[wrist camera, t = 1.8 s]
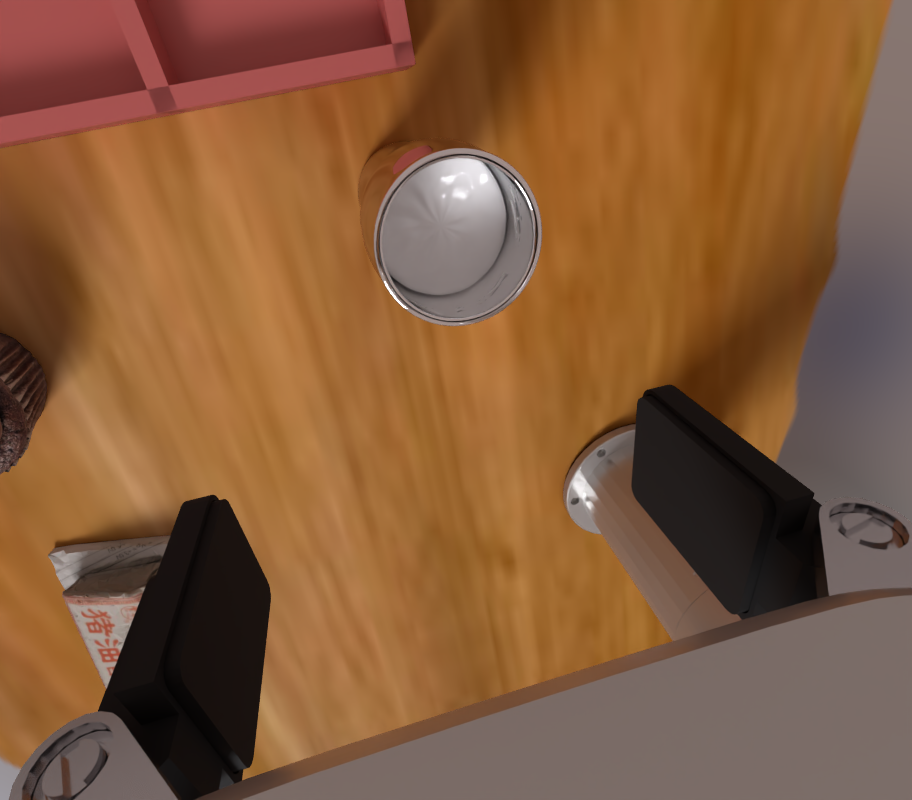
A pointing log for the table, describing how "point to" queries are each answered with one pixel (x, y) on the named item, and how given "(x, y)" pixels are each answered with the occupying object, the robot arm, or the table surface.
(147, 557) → the packaged product
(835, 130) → the table surface
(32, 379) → the cupcake
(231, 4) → the tray
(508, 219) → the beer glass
